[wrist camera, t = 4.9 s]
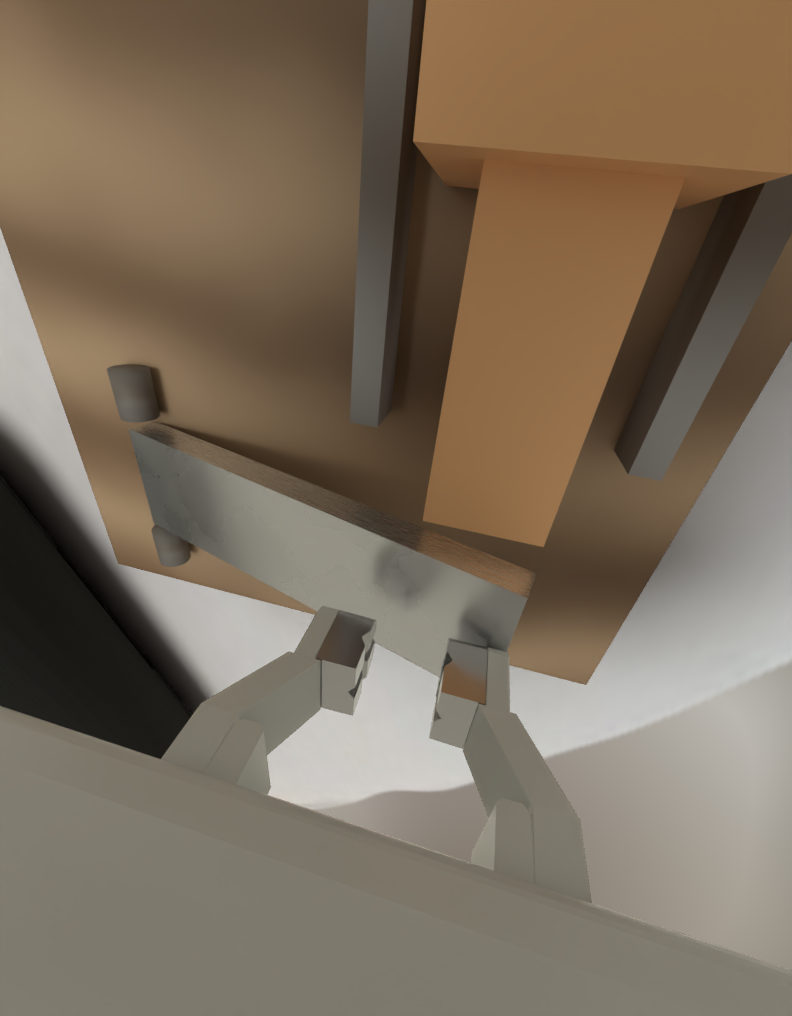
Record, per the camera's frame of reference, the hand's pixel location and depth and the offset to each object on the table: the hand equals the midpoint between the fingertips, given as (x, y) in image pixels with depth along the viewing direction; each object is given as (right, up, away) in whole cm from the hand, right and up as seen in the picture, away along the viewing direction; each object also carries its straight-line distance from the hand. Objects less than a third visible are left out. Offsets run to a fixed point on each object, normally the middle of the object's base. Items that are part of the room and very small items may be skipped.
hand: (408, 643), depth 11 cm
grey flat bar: (-3, +3, +3) cm, 5 cm away
